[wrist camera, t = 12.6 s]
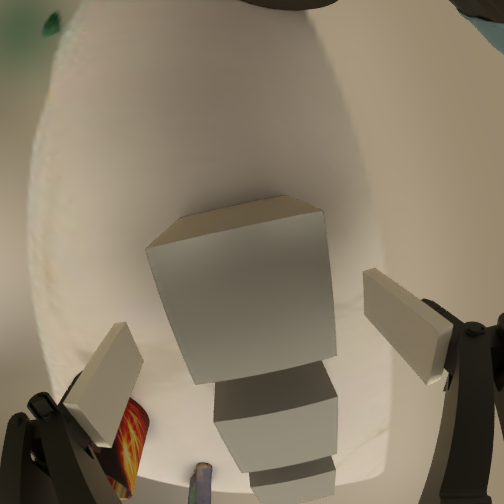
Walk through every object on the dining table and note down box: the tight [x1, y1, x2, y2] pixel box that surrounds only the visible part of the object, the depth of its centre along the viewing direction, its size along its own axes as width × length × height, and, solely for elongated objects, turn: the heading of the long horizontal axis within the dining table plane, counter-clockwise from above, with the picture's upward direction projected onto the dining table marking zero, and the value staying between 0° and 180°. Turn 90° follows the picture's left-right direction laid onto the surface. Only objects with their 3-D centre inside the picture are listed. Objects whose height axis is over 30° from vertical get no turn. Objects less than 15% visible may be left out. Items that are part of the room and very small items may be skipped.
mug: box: [88, 398, 149, 499], centre depth 22 cm, size 10×14×12 cm
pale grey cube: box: [145, 195, 337, 385], centre depth 19 cm, size 9×9×10 cm
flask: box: [188, 463, 212, 504], centre depth 29 cm, size 9×3×11 cm, turn 160°
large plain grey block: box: [249, 455, 336, 504], centre depth 27 cm, size 9×9×10 cm
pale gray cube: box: [214, 360, 338, 473], centre depth 23 cm, size 9×9×10 cm
